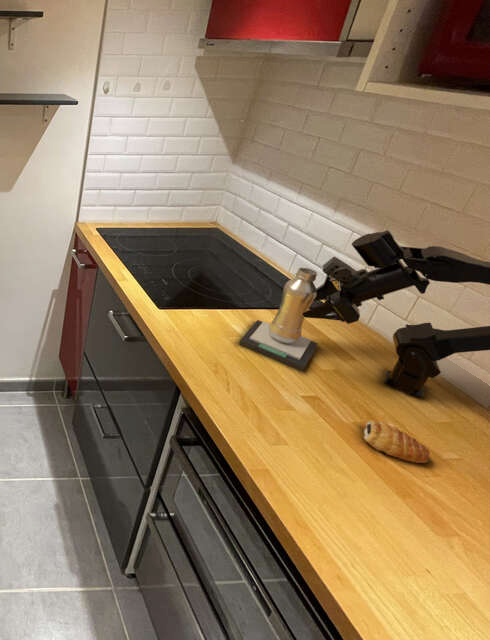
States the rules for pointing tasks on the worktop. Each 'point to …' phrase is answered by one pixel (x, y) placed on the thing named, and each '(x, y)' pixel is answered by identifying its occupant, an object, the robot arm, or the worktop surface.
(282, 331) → the plastic bottle
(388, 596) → the worktop surface
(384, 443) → the pastry
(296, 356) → the scale
